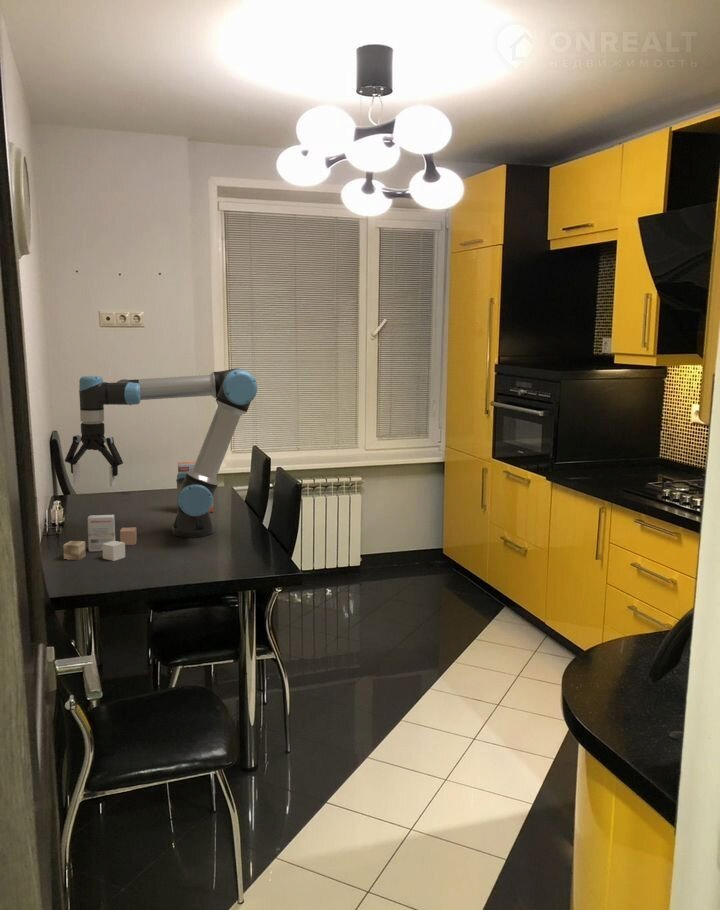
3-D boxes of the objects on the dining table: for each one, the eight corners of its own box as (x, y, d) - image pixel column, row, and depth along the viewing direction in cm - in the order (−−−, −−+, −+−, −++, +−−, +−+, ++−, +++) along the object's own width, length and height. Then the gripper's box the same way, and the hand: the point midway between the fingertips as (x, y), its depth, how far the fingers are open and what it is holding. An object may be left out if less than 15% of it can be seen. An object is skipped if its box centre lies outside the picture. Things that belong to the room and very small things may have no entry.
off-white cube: (125, 557, 244) (124, 542, 243) (113, 561, 239) (113, 546, 239) (114, 554, 246) (114, 540, 245) (102, 558, 242) (102, 543, 241)
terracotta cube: (136, 540, 263) (136, 527, 262) (135, 544, 258) (134, 531, 257) (122, 541, 262) (121, 527, 261) (120, 545, 257) (120, 531, 256)
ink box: (115, 546, 255) (114, 513, 253) (114, 550, 250) (114, 517, 248) (89, 548, 253) (88, 514, 251) (88, 552, 248) (87, 518, 246)
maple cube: (85, 556, 244) (85, 541, 243) (78, 560, 239) (78, 545, 238) (71, 555, 244) (70, 540, 244) (63, 559, 239) (63, 545, 239)
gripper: (132, 422, 249) (133, 484, 252) (65, 419, 253) (68, 479, 257) (120, 425, 241) (122, 488, 245) (52, 421, 246) (55, 483, 249)
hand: (94, 484), depth 251 cm, fingers open, 13 cm apart
